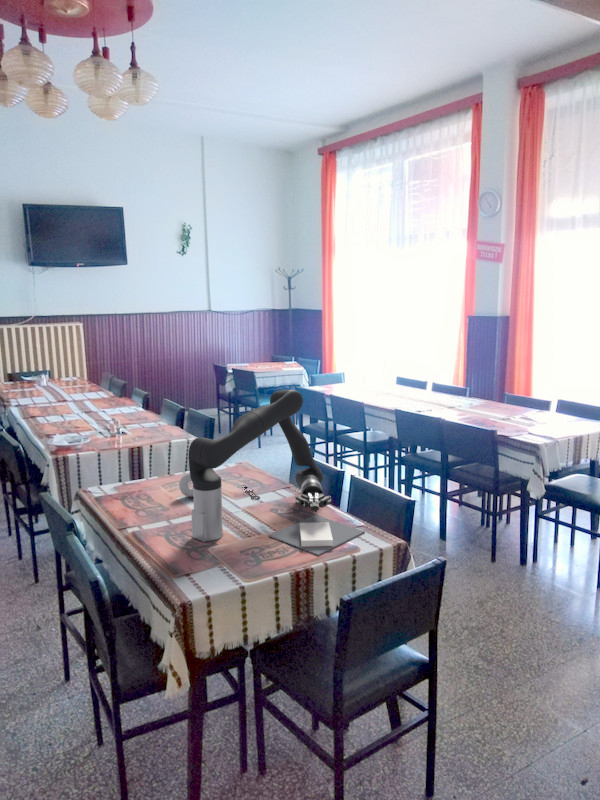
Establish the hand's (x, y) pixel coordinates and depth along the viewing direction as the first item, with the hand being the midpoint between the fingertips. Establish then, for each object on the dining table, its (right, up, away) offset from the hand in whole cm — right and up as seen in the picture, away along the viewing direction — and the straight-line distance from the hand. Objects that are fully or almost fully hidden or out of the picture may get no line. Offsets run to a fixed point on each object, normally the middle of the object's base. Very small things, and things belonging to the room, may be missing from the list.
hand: (314, 509), depth 201 cm
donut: (-48, -2, +39) cm, 61 cm away
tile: (0, -6, +5) cm, 8 cm away
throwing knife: (-26, -1, +44) cm, 51 cm away
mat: (+1, -9, +2) cm, 9 cm away
